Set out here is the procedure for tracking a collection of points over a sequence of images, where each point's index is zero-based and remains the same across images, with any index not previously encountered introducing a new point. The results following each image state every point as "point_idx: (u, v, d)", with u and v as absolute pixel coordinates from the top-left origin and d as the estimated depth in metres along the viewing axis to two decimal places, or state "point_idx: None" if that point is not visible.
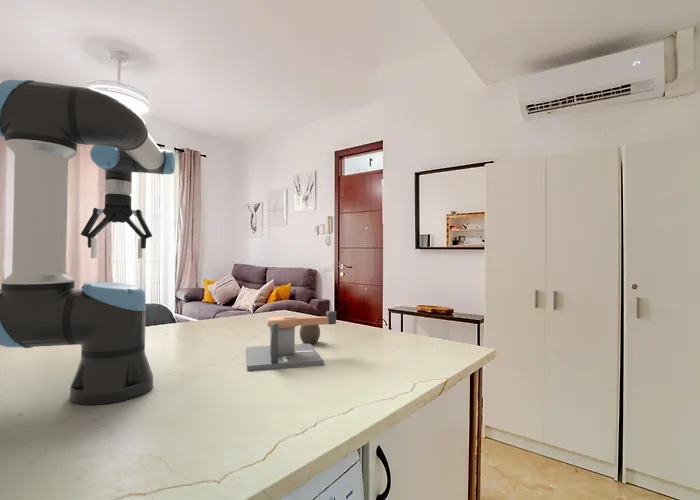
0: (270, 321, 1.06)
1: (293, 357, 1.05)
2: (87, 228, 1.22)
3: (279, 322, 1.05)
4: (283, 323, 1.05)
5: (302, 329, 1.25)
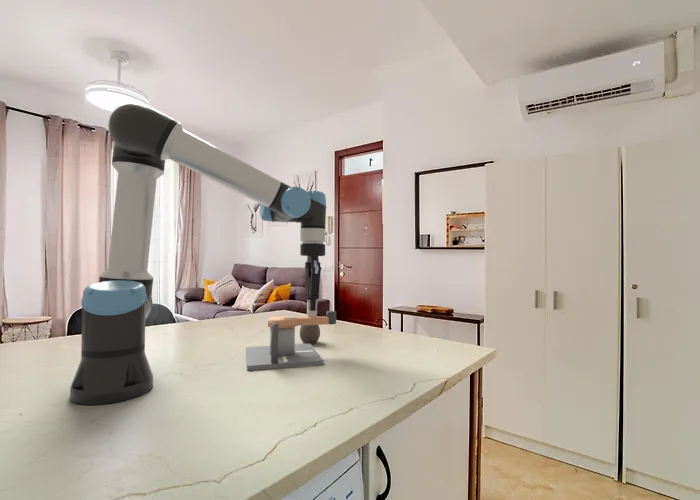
0: (270, 321, 1.06)
1: (293, 357, 1.05)
2: (306, 287, 1.16)
3: (279, 322, 1.05)
4: (283, 323, 1.05)
5: (302, 329, 1.25)
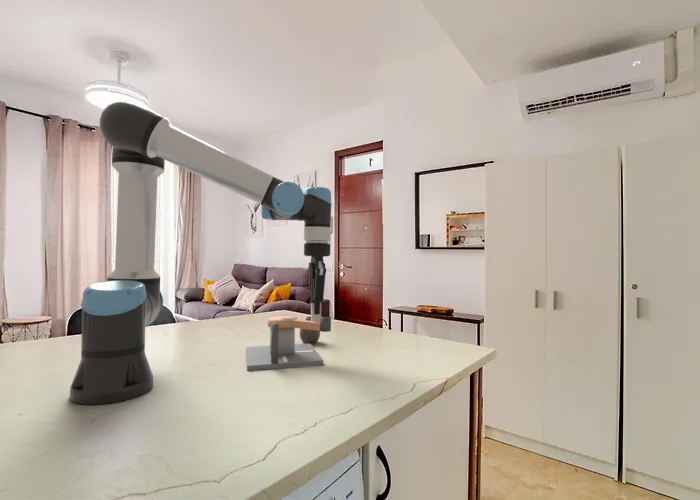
0: None
1: (293, 357, 1.05)
2: (310, 289, 1.10)
3: (270, 321, 1.06)
4: (272, 323, 1.06)
5: (302, 329, 1.25)
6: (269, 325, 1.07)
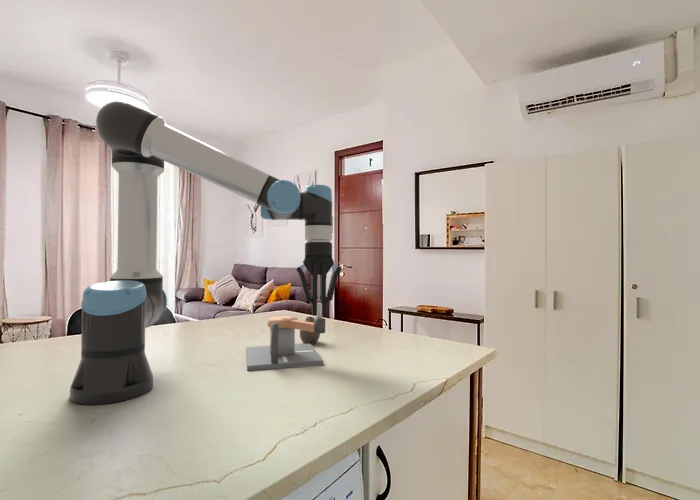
0: None
1: (293, 357, 1.05)
2: (307, 291, 1.02)
3: (268, 321, 1.07)
4: (271, 322, 1.06)
5: None
6: (268, 325, 1.07)
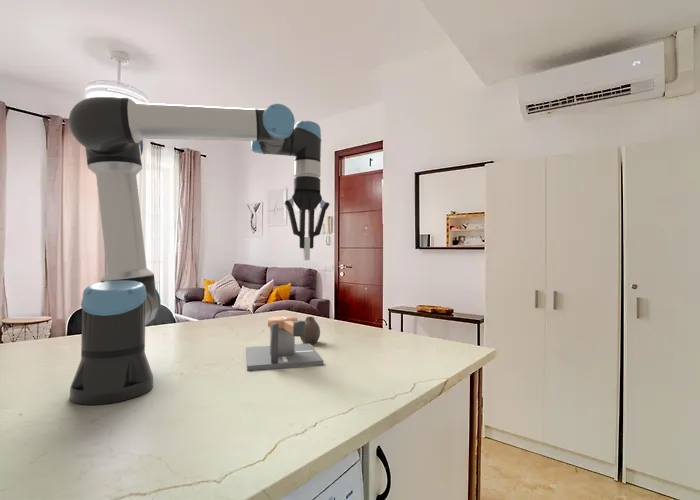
0: None
1: (293, 357, 1.05)
2: (295, 224, 1.05)
3: None
4: (268, 321, 1.08)
5: None
6: None
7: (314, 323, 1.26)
